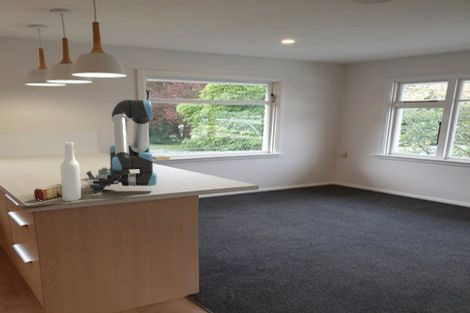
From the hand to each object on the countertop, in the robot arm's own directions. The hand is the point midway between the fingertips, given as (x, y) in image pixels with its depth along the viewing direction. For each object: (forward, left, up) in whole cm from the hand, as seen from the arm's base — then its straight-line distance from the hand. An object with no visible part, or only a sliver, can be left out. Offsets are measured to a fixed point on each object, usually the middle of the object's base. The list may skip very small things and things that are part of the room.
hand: (91, 179), depth 193 cm
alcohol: (+12, -15, -7) cm, 20 cm away
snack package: (-1, -19, -7) cm, 20 cm away
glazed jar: (-11, +12, -7) cm, 18 cm away
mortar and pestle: (+2, +2, -7) cm, 8 cm away
